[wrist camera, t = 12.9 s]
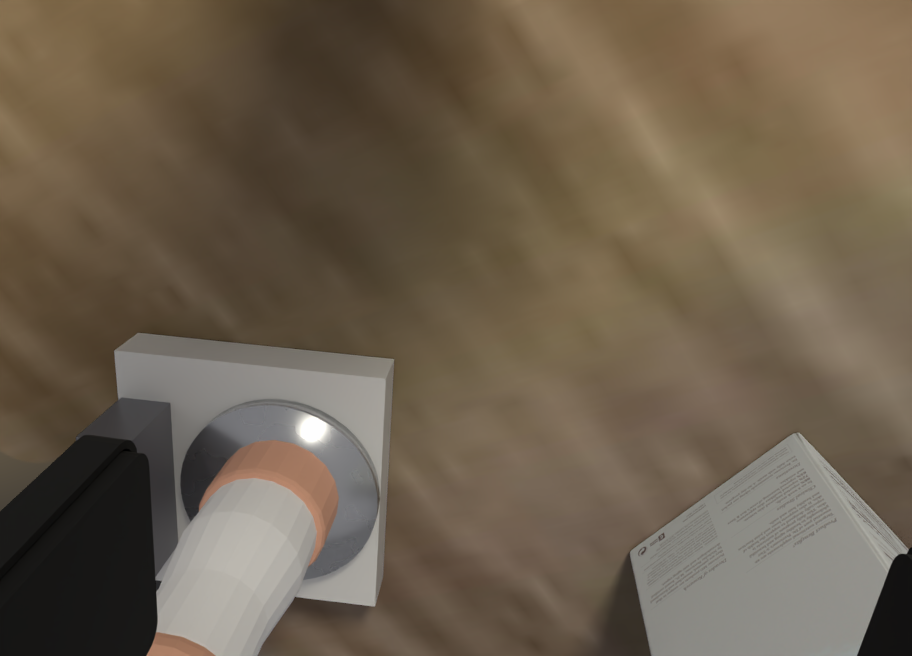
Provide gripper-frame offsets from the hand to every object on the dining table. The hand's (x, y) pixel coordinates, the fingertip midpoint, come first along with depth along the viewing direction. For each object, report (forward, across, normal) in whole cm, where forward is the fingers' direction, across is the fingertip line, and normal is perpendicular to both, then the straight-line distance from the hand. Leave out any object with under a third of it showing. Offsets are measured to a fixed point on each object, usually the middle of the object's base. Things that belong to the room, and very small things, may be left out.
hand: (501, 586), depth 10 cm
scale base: (+35, +14, +21) cm, 43 cm away
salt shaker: (+31, +12, +21) cm, 39 cm away
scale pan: (+32, +12, +21) cm, 40 cm away
